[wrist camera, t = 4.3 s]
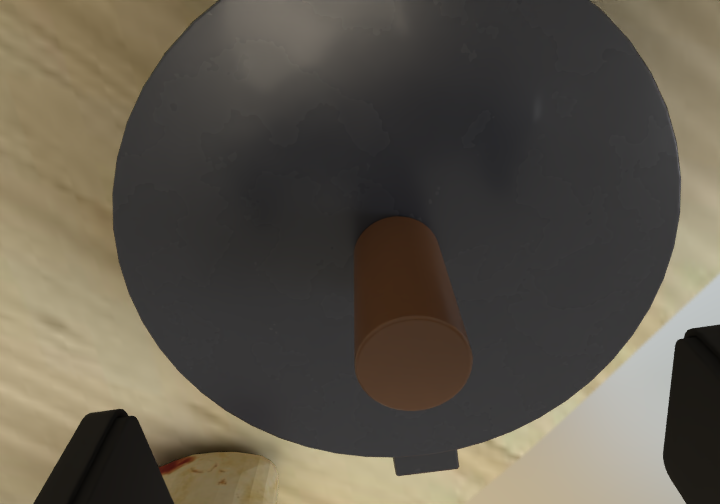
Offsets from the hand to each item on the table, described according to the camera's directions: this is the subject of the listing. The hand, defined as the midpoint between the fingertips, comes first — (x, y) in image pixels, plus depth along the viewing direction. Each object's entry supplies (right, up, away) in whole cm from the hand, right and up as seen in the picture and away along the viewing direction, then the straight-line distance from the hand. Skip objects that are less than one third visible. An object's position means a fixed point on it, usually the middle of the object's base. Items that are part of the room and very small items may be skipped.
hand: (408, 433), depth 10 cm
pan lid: (0, +3, +6) cm, 7 cm away
